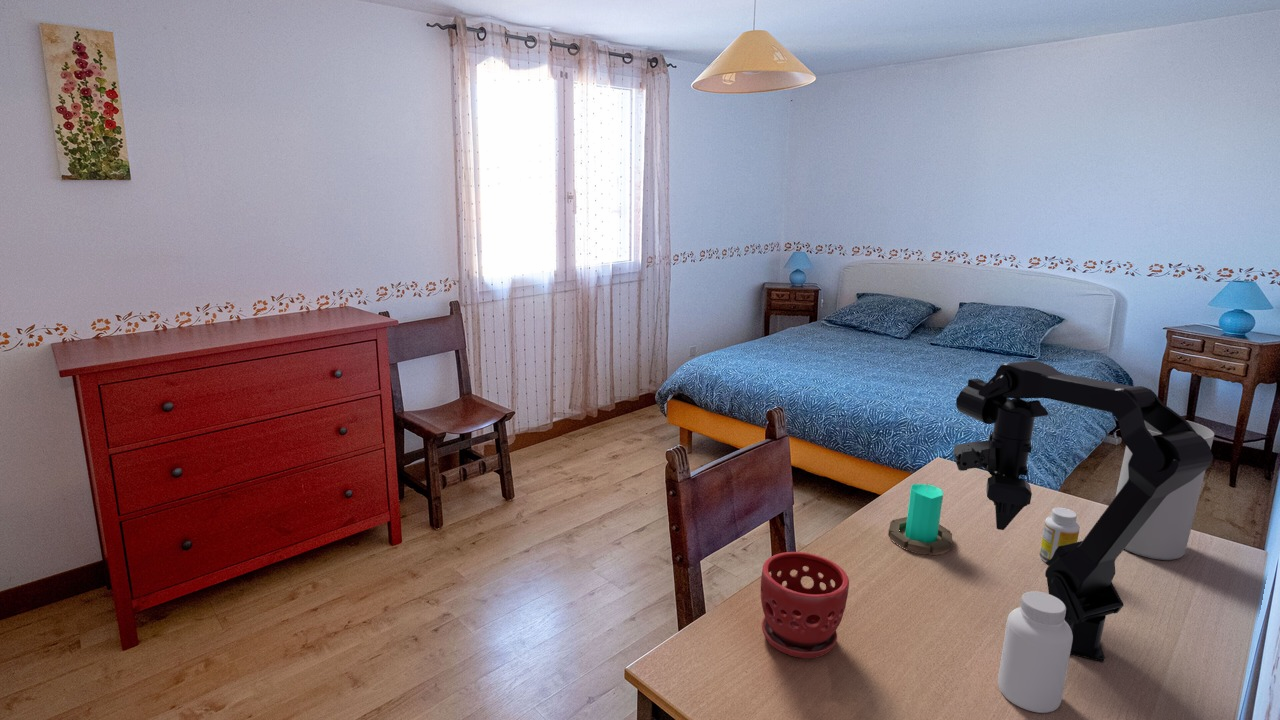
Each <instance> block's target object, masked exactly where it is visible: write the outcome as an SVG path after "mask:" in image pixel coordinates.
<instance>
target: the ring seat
mask: <svg viewBox="0 0 1280 720" xmlns="http://www.w3.org/2000/svg"><path fill="white" fill-rule="evenodd" d="M889 523H890V524H889V528H888V530H887V536H889V537H890V539H891V540H893V541H894V542H895V543H896V544H898V545H900V546H901V547H903V548H905V549H907V550H909V551H908V552H910V551H913V552H916V553H915V554H917V553H919V554H918V555H923V554H929V555H928V556H938V554H940V555H943V554H947V553H948V552H950V551H951V549H952V548H953V533H952V531H951V530H949V529H948V528H946V527H944V526H943V525H942V524H940V523H939V528H938V536H937V541H936V542H931V543H925V542H920V541H915V540H910V539H909V538H908V537H906V536H905V532H906V524H907V516H904V517H900V518H895V519H892V520H891V521H890V522H889ZM899 530H900V531H899ZM889 537H888V538H889ZM890 539H889V540H890ZM891 540H890V541H891ZM896 544H895V545H896ZM905 549H904V550H905ZM907 550H906V551H907ZM913 552H912V553H913Z"/></svg>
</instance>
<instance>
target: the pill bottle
mask: <svg viewBox="0 0 1280 720" xmlns="http://www.w3.org/2000/svg"><path fill="white" fill-rule="evenodd" d="M1065 614H1066V606H1065V605H1064V603H1063V602H1062V601H1061V600H1059V599H1058V598H1056V597H1054V596H1052V595H1050V594H1049V593H1047V592H1042V591H1035V590H1033V591H1027V592H1025V593H1023V594H1022V595H1021V599H1020V606H1019V607H1017V608H1015V609H1013V610H1012V611H1011V612H1010V613H1009V614H1008V615H1007V619H1006V625H1005V633H1004V637H1003V638H1004V639H1003V644H1002V650H1001V651H1002V652H1001V658H1000V663H999V670H998V676H997V684H998V685H997V686H998V688H999V690H1000V692H1001V694H1002V695H1003V696H1004V697H1005V698H1006V700H1008V701H1009V702H1010V703H1012V704H1013V705H1015V706H1017V707H1018V708H1021V709H1022V710H1023V709H1024V710H1027V711H1028V712H1033V713H1039V714H1041V713H1042V714H1045V713H1046V714H1047V713H1048V714H1049V713H1052V712H1054V711H1055V710H1057V709H1058V708H1059V707H1060V706H1061V703H1062V698H1063V695H1064V694H1063V693H1064V689H1065V682H1066V678H1067V673H1068V672H1067V671H1068V668H1069V667H1068V666H1069V661H1070V657H1071V654H1070V652H1071V646H1072V641H1073V635H1072V631H1071V628H1070V626H1069V625H1068V624H1067V622H1066V621H1065V620H1064V618H1065Z"/></svg>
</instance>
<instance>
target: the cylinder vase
mask: <svg viewBox="0 0 1280 720" xmlns="http://www.w3.org/2000/svg"><path fill="white" fill-rule="evenodd" d="M1185 420H1186V419H1185ZM1186 421H1187V422H1188V423H1189V424H1190V425H1191V427H1192V428H1193V429H1194V430H1195V432H1196V433H1197V434H1198V435H1200V436H1202V437H1203V438H1204V439H1205V440H1206V441H1207V443H1208V445H1209V446H1210V449H1211V450H1212V445H1213V442H1214V438H1215V432H1214V431H1213V430H1212V429H1210V428H1209V427H1207V426H1205V425H1202V424H1201V423H1197V422H1194V421H1190V420H1186ZM1144 423H1145V426H1146V428H1147V430H1148V431H1149V432H1150V433H1151V435H1152V436H1153V435H1159V434H1163V433H1161V432H1160V431H1158V430H1157V429H1156V428H1154V427H1153V426H1152V425H1150V424H1149V423H1148V422H1146V421H1145V420H1144ZM1131 456H1132V452H1131V451H1130V450H1129V448H1128V447H1127V445H1126V444H1125V449H1124V455H1123V459H1122V464H1121V468H1120V473H1119V479H1118V482H1117V488H1116V493H1115V497H1116V496H1117V494H1118V493H1119V491H1120V490H1121V489H1122V487H1123V486H1124V485H1125V483H1126V482H1127V480H1128V478H1129V474H1128V462H1129V460H1130V458H1131ZM1205 473H1206V470H1205V471H1203V472H1202V473H1201V474H1199V475H1198V476H1197V477H1196V478H1194V479H1193V480H1192V481H1190V482H1189V483H1187V484H1185V485H1183V486H1182V487H1180V488H1178V489H1177V490H1175V491H1173V492H1171V493H1170V494H1168V495H1167V496H1166V497H1165V499H1164V500H1163V501H1162V502H1161V503H1160V505H1159V506H1158V507H1157V508H1156V510H1155V511H1154V512H1153V513H1152V515H1151V516H1150V517H1149V518H1148V520H1147V521H1146V522H1145V523H1144V525H1143V526H1142V527H1141V528H1140V530H1139V531H1138V532H1137V533H1136V535H1135V536H1134V537H1133V538H1132V539H1131V541H1130V542H1129V543H1128V544H1127V546H1126V547H1125V548H1124V549H1123V550H1126V551H1127V552H1130V553H1132V554H1135V555H1138V556H1140V557H1141V556H1142V557H1143V558H1147V559H1151V560H1152V559H1153V560H1161V561H1171V560H1177V559H1180V558H1182V557H1183V556H1184V555H1185V554H1186V551H1187V546H1188V543H1189V538H1190V534H1191V529H1192V526H1193V522H1194V518H1195V514H1196V510H1197V506H1198V502H1199V497H1200V494H1201V489H1202V486H1203V481H1204V477H1205ZM1115 497H1114V498H1115Z"/></svg>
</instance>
